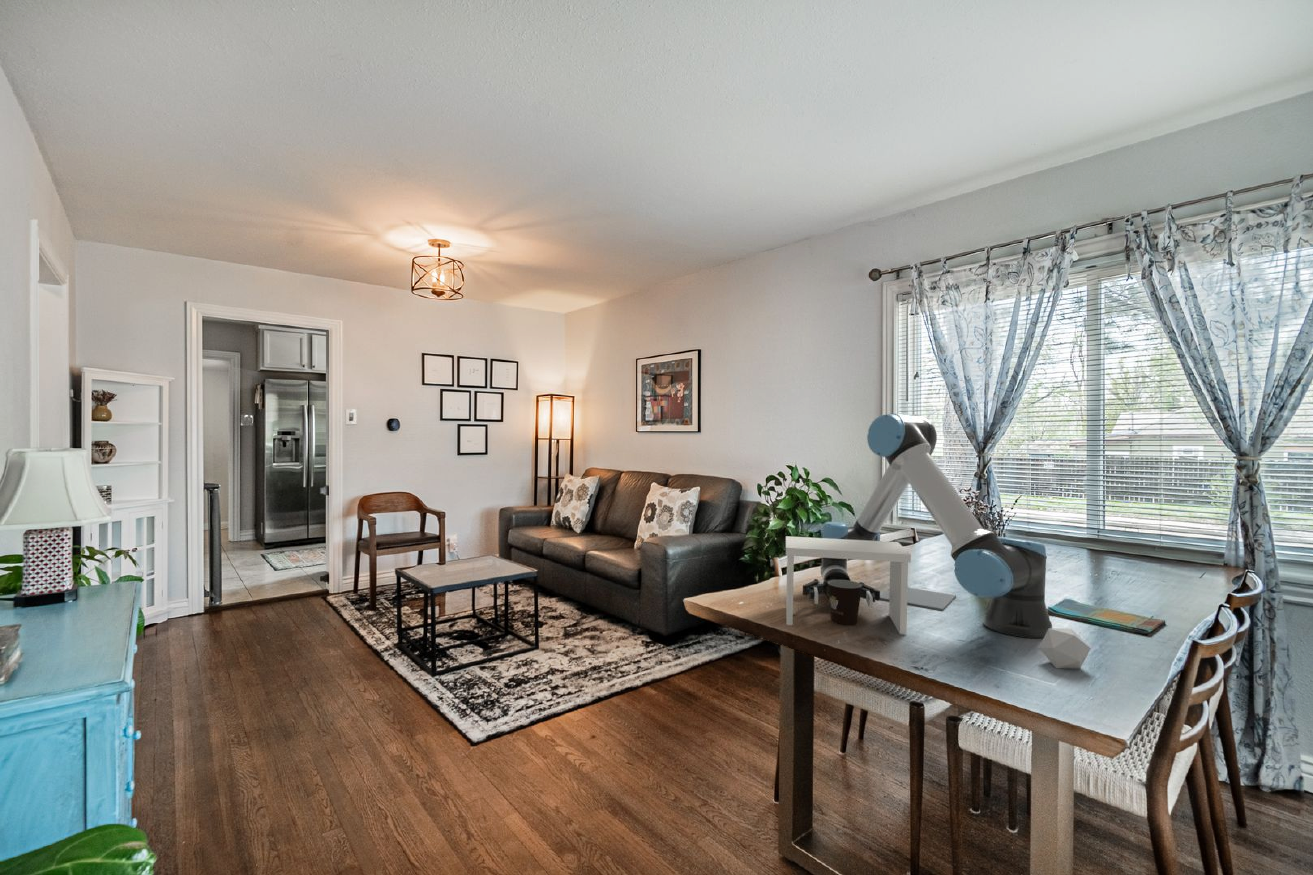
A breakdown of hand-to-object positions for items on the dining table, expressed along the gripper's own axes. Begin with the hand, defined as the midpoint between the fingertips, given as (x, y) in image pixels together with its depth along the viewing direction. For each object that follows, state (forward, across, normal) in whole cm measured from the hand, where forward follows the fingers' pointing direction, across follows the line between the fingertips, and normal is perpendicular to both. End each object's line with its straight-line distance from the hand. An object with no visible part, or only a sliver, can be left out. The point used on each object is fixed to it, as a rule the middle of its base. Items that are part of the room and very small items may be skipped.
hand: (843, 600), depth 158 cm
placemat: (-31, -24, -6) cm, 40 cm away
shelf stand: (-3, 0, -6) cm, 7 cm away
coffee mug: (-3, 0, -6) cm, 7 cm away
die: (+18, -44, -6) cm, 48 cm away
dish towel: (-23, -70, -7) cm, 74 cm away
